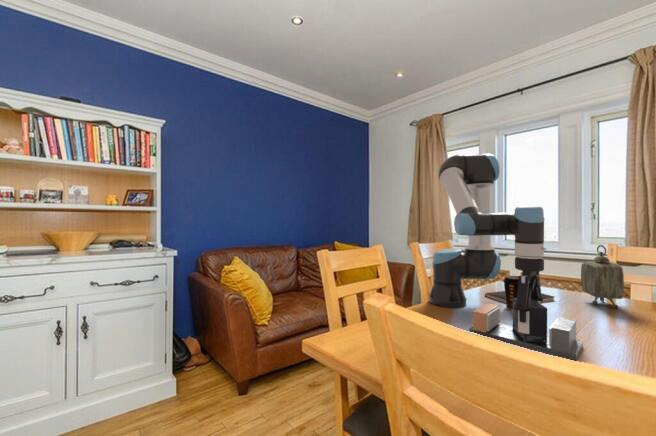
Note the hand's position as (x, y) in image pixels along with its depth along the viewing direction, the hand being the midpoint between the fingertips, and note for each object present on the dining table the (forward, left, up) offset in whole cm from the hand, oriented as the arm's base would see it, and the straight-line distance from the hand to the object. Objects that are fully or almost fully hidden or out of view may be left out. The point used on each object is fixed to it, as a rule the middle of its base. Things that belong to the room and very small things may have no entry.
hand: (529, 326), depth 97 cm
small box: (0, 0, -3) cm, 3 cm away
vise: (-1, 0, -4) cm, 5 cm away
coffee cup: (-12, +33, -5) cm, 36 cm away
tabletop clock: (+12, +63, -5) cm, 64 cm away
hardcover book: (-16, +51, -5) cm, 54 cm away
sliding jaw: (-12, 0, -3) cm, 13 cm away
